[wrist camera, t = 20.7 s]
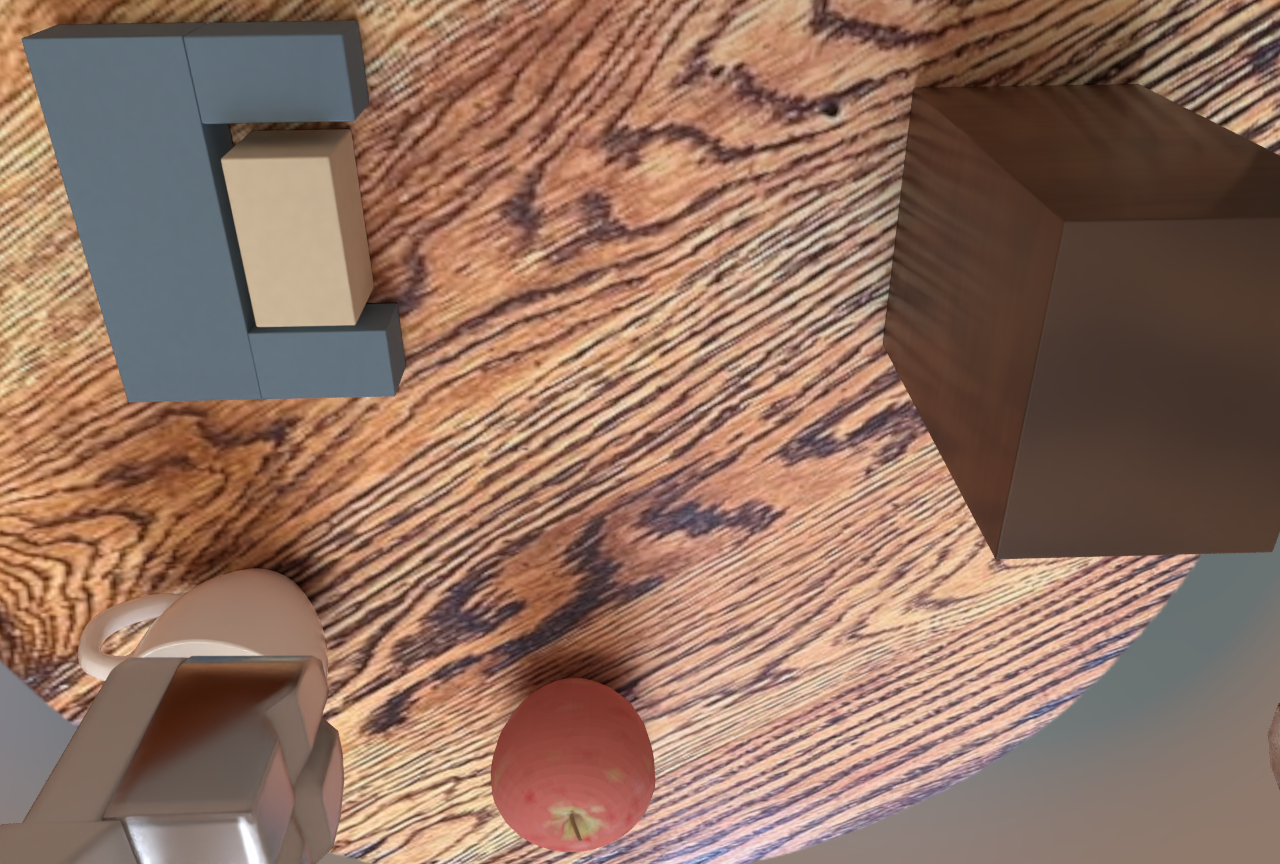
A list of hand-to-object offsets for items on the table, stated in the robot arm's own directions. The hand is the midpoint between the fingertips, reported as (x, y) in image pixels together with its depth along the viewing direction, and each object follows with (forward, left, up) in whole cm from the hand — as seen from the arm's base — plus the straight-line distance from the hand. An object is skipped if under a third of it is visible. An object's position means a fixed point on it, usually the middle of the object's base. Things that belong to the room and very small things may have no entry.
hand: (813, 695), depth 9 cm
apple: (+31, -4, -31) cm, 44 cm away
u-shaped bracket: (+6, -15, -31) cm, 35 cm away
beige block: (+6, -13, -31) cm, 34 cm away
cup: (+24, -19, -31) cm, 44 cm away
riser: (+7, +13, -31) cm, 34 cm away
